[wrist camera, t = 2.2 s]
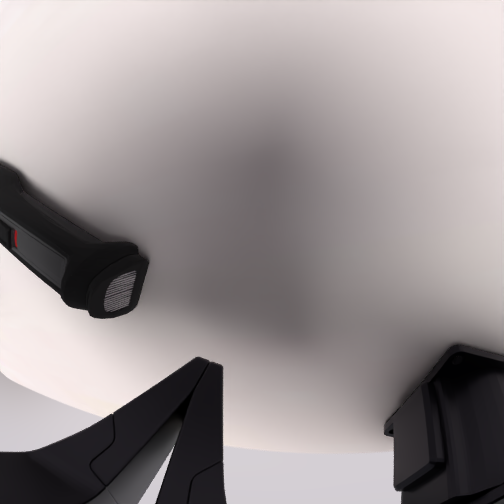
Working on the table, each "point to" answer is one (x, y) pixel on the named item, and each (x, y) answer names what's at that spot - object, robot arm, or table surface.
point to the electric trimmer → (69, 254)
